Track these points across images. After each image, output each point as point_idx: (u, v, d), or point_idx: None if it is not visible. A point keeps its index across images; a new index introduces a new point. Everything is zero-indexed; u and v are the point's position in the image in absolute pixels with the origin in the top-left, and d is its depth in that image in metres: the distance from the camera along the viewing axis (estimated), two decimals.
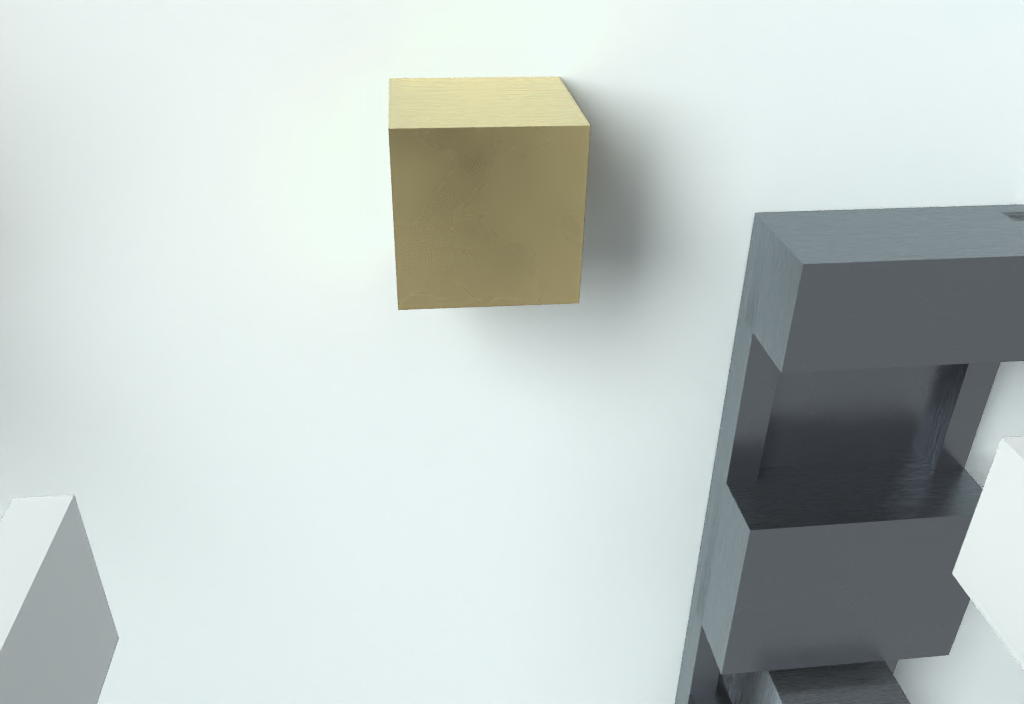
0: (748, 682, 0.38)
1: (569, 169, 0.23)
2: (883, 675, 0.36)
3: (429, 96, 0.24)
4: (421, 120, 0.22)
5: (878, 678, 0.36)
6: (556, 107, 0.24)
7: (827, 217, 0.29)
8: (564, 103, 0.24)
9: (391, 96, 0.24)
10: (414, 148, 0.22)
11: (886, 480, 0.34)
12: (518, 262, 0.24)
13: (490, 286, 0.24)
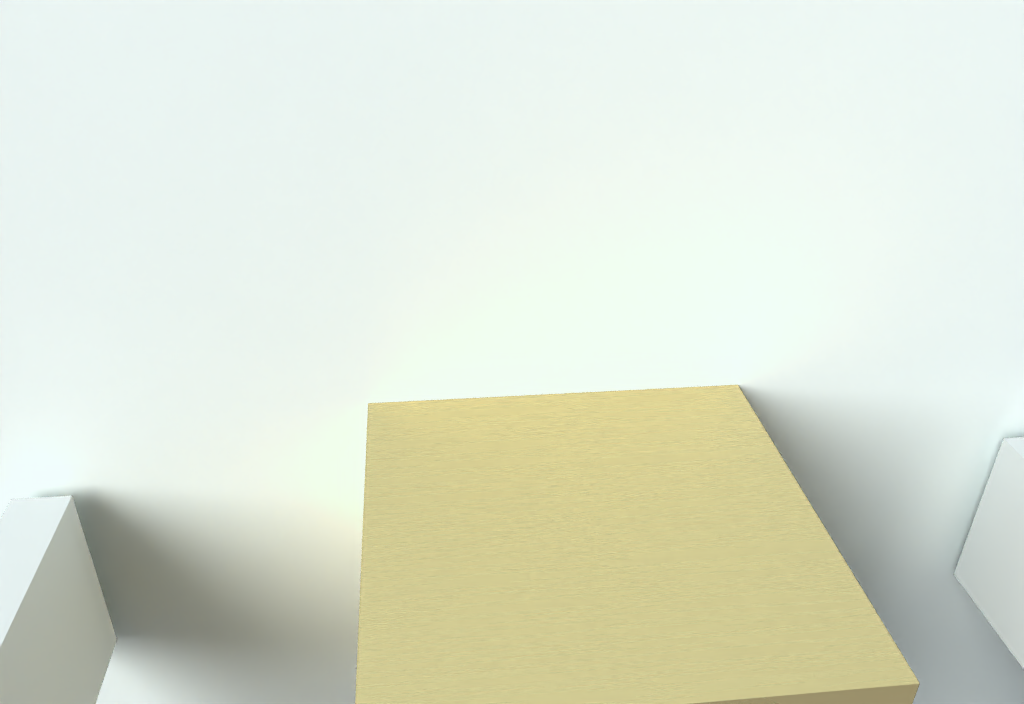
0: None
1: None
2: None
3: (462, 499, 0.10)
4: (448, 665, 0.08)
5: None
6: (783, 553, 0.09)
7: None
8: (797, 531, 0.10)
9: (369, 502, 0.10)
10: None
11: None
12: None
13: None
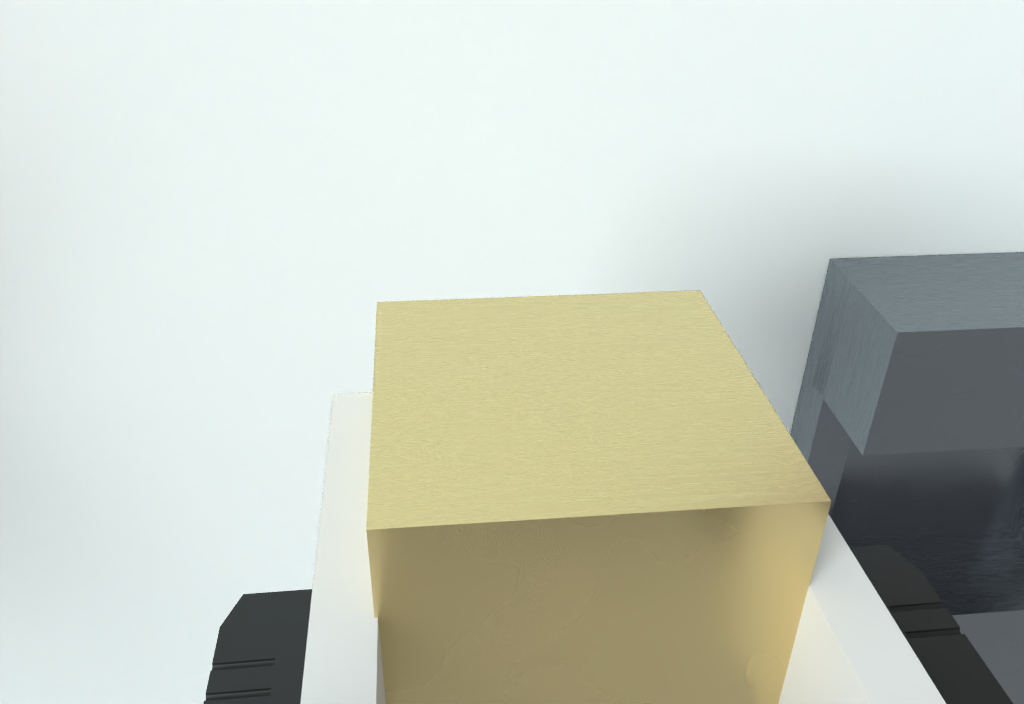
0: None
1: (772, 578, 0.10)
2: None
3: (457, 373, 0.12)
4: (443, 486, 0.10)
5: None
6: (728, 413, 0.11)
7: (917, 265, 0.24)
8: (742, 397, 0.11)
9: (378, 375, 0.12)
10: (427, 561, 0.10)
11: (968, 560, 0.29)
12: None
13: None
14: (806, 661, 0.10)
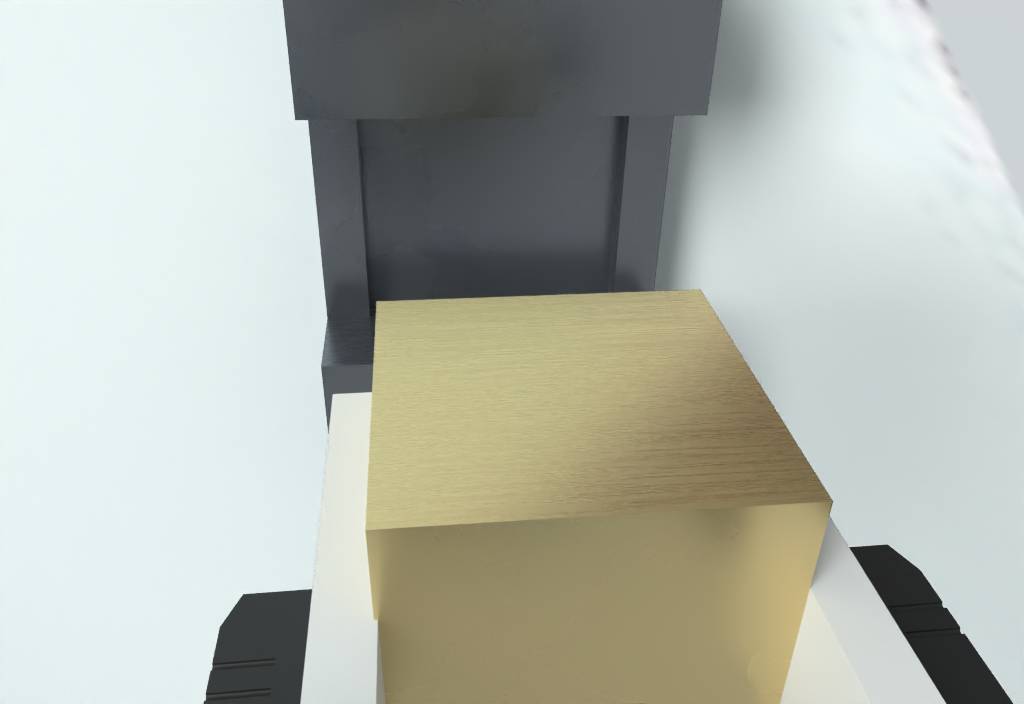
0: None
1: (774, 579, 0.10)
2: None
3: (456, 373, 0.12)
4: (442, 486, 0.10)
5: None
6: (728, 412, 0.11)
7: None
8: (742, 397, 0.11)
9: (377, 375, 0.12)
10: (428, 561, 0.09)
11: None
12: None
13: None
14: (806, 661, 0.10)
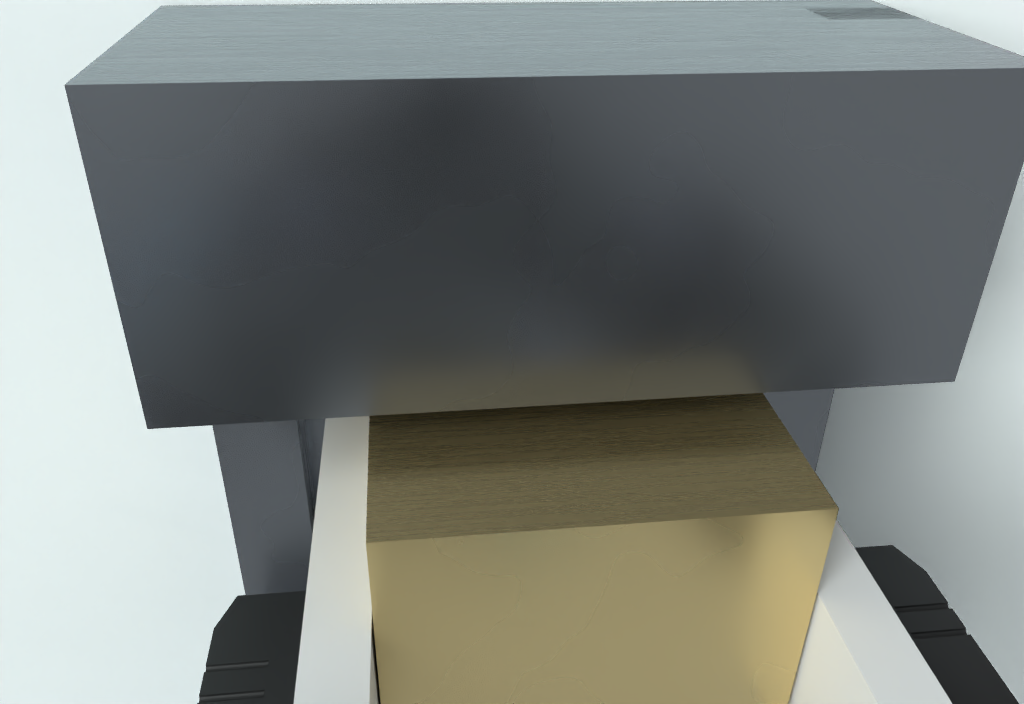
0: None
1: (779, 588, 0.10)
2: None
3: None
4: (444, 497, 0.10)
5: None
6: (730, 420, 0.11)
7: (338, 12, 0.11)
8: (744, 404, 0.11)
9: None
10: (429, 573, 0.09)
11: None
12: None
13: None
14: (812, 662, 0.10)
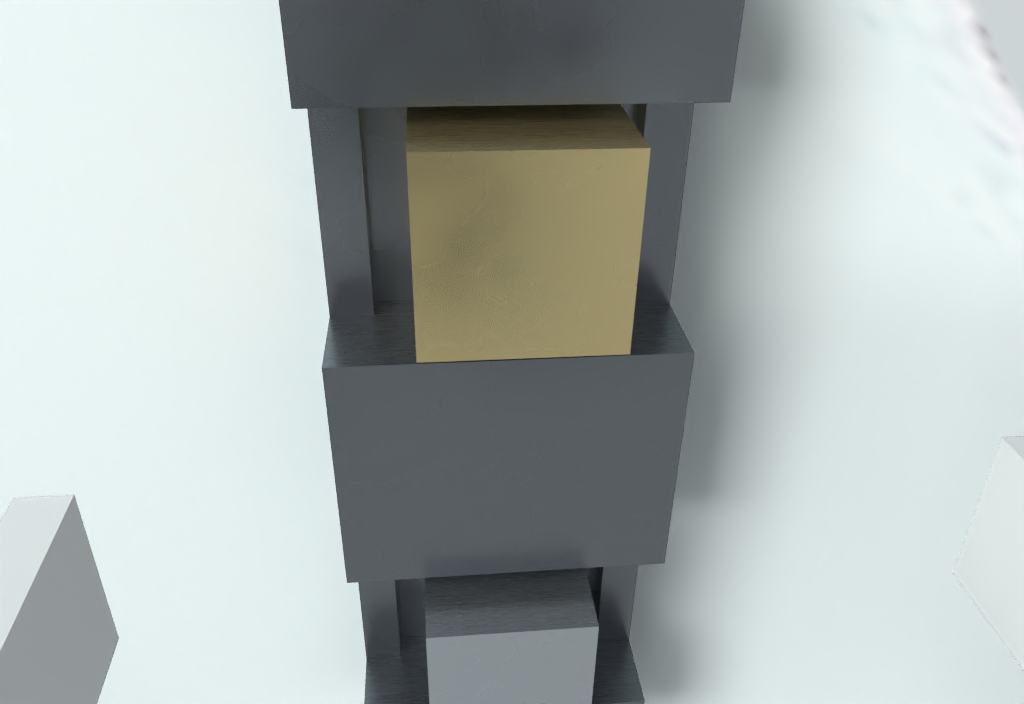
0: None
1: (624, 200, 0.19)
2: (576, 588, 0.27)
3: (454, 109, 0.20)
4: (445, 141, 0.18)
5: (568, 592, 0.27)
6: (606, 123, 0.20)
7: None
8: (616, 118, 0.20)
9: (409, 109, 0.20)
10: (438, 175, 0.18)
11: None
12: (559, 308, 0.20)
13: (525, 335, 0.20)
14: None
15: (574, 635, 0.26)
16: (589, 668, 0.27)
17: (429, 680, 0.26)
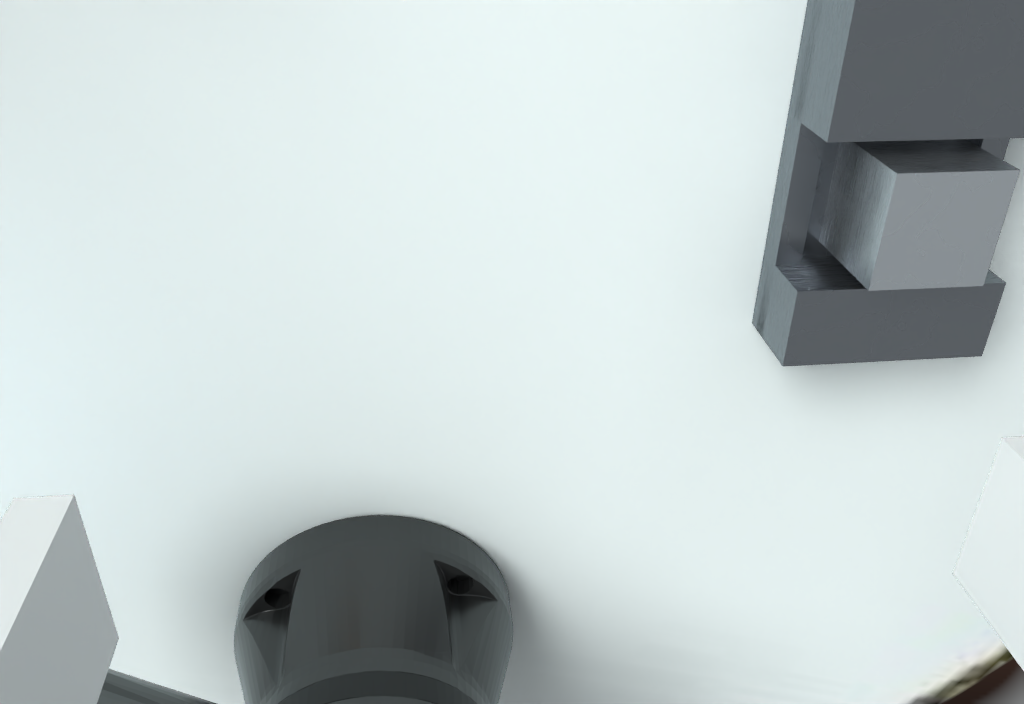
0: (845, 197, 0.38)
1: None
2: (988, 157, 0.36)
3: None
4: None
5: (983, 158, 0.36)
6: None
7: None
8: None
9: None
10: None
11: None
12: None
13: None
14: None
15: (1000, 177, 0.35)
16: (1001, 214, 0.35)
17: (887, 218, 0.35)
